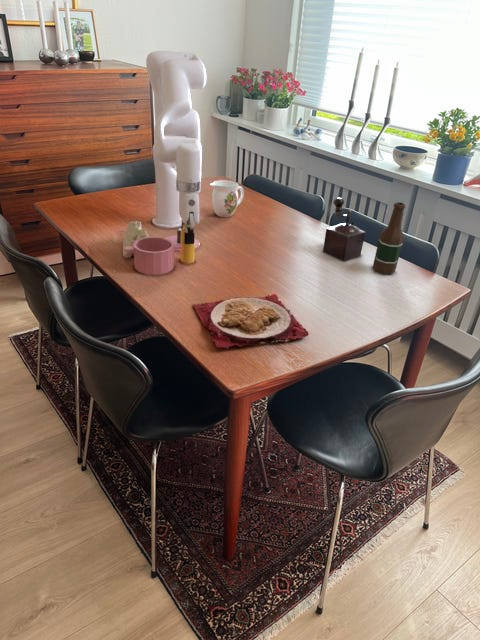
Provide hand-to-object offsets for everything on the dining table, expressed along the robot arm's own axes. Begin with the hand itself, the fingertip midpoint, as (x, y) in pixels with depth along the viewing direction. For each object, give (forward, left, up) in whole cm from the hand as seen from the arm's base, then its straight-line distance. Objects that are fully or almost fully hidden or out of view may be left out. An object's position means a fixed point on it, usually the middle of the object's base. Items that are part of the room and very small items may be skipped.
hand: (187, 240), depth 161 cm
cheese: (-12, -16, -8) cm, 22 cm away
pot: (+2, -11, -8) cm, 14 cm away
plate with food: (+41, +9, -8) cm, 42 cm away
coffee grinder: (-1, +57, -8) cm, 58 cm away
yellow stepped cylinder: (0, 0, -8) cm, 8 cm away
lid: (-14, +1, -7) cm, 16 cm away
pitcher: (-44, +26, -8) cm, 52 cm away
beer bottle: (+17, +66, -8) cm, 69 cm away
